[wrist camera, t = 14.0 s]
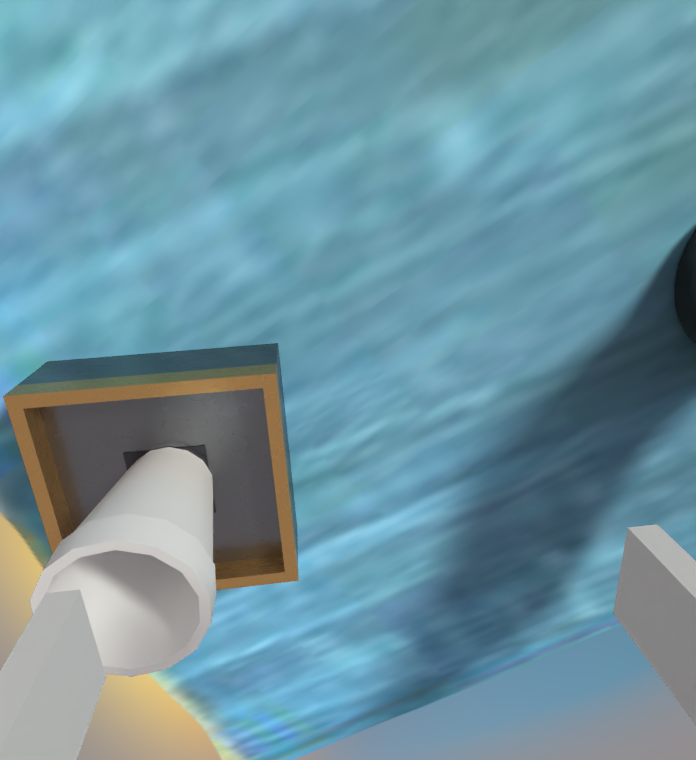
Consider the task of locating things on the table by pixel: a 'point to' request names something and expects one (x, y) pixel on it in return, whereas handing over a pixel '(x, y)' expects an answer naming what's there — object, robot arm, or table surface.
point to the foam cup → (143, 564)
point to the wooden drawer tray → (167, 444)
